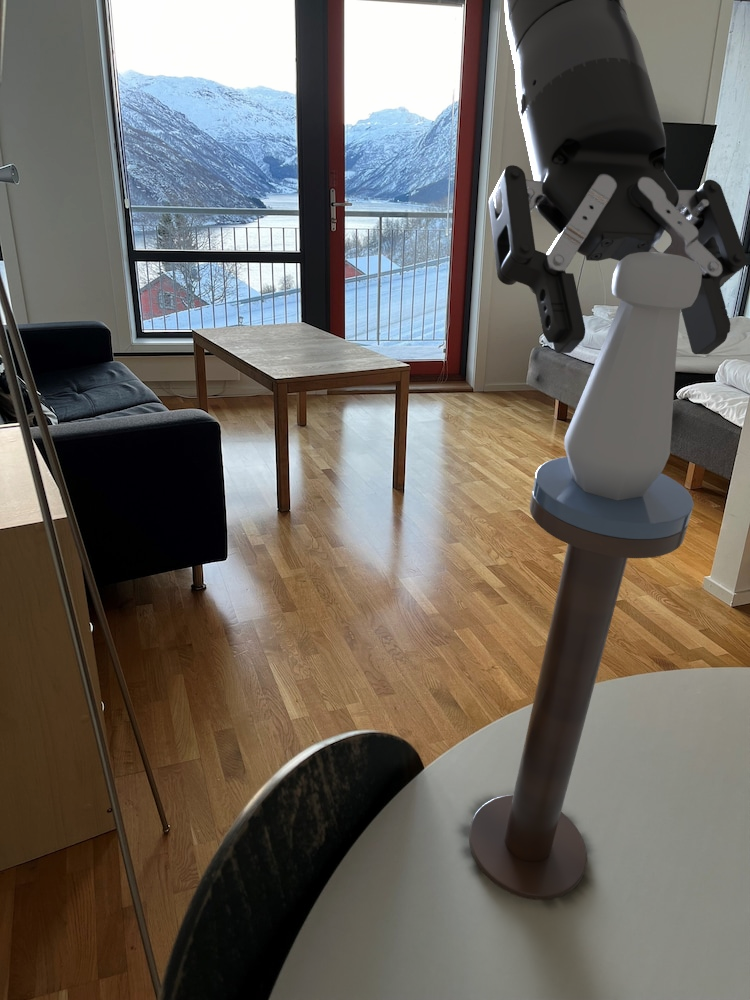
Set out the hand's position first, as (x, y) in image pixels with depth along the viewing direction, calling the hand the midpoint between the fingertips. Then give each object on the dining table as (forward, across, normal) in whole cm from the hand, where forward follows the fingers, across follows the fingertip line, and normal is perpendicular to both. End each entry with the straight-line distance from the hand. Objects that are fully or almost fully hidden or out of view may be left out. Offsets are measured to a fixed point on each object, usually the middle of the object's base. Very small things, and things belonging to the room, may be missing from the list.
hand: (643, 347), depth 40 cm
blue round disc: (+7, 0, +6) cm, 9 cm away
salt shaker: (+6, 0, +6) cm, 8 cm away
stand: (+29, 0, +28) cm, 40 cm away
